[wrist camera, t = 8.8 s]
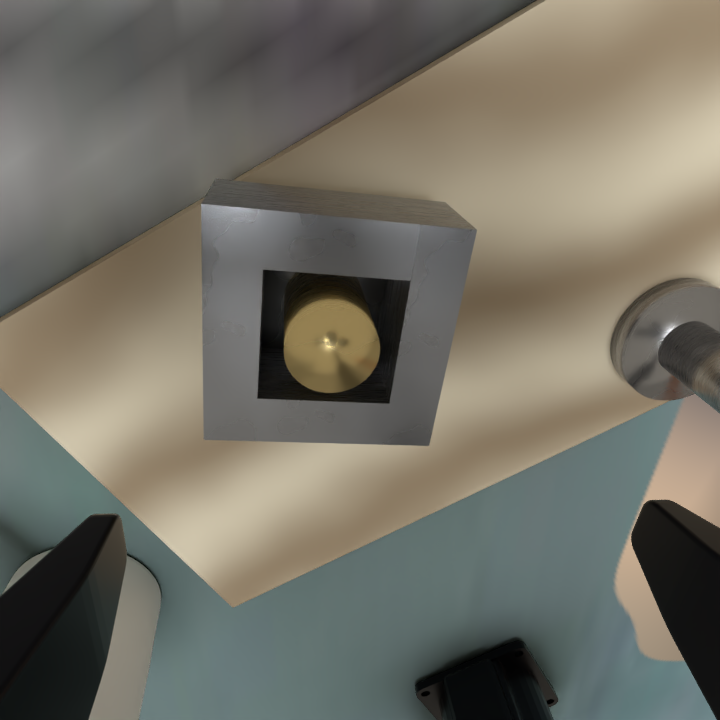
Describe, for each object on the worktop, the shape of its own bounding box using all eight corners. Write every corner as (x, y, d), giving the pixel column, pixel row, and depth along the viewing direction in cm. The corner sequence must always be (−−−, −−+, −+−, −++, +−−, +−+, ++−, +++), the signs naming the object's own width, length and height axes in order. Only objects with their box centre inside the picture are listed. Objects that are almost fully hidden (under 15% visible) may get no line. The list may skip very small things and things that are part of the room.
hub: (427, 313, 19) (466, 381, 15) (294, 383, 19) (296, 466, 15) (355, 172, 16) (378, 208, 12) (205, 258, 17) (180, 318, 13)
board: (819, 308, 22) (842, 319, 21) (234, 588, 25) (232, 607, 24) (779, -144, 15) (811, -157, 14) (-27, 333, 18) (-43, 347, 17)
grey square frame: (409, 392, 19) (429, 446, 16) (215, 383, 18) (203, 440, 15) (445, 202, 16) (476, 230, 13) (215, 178, 15) (200, 203, 12)
